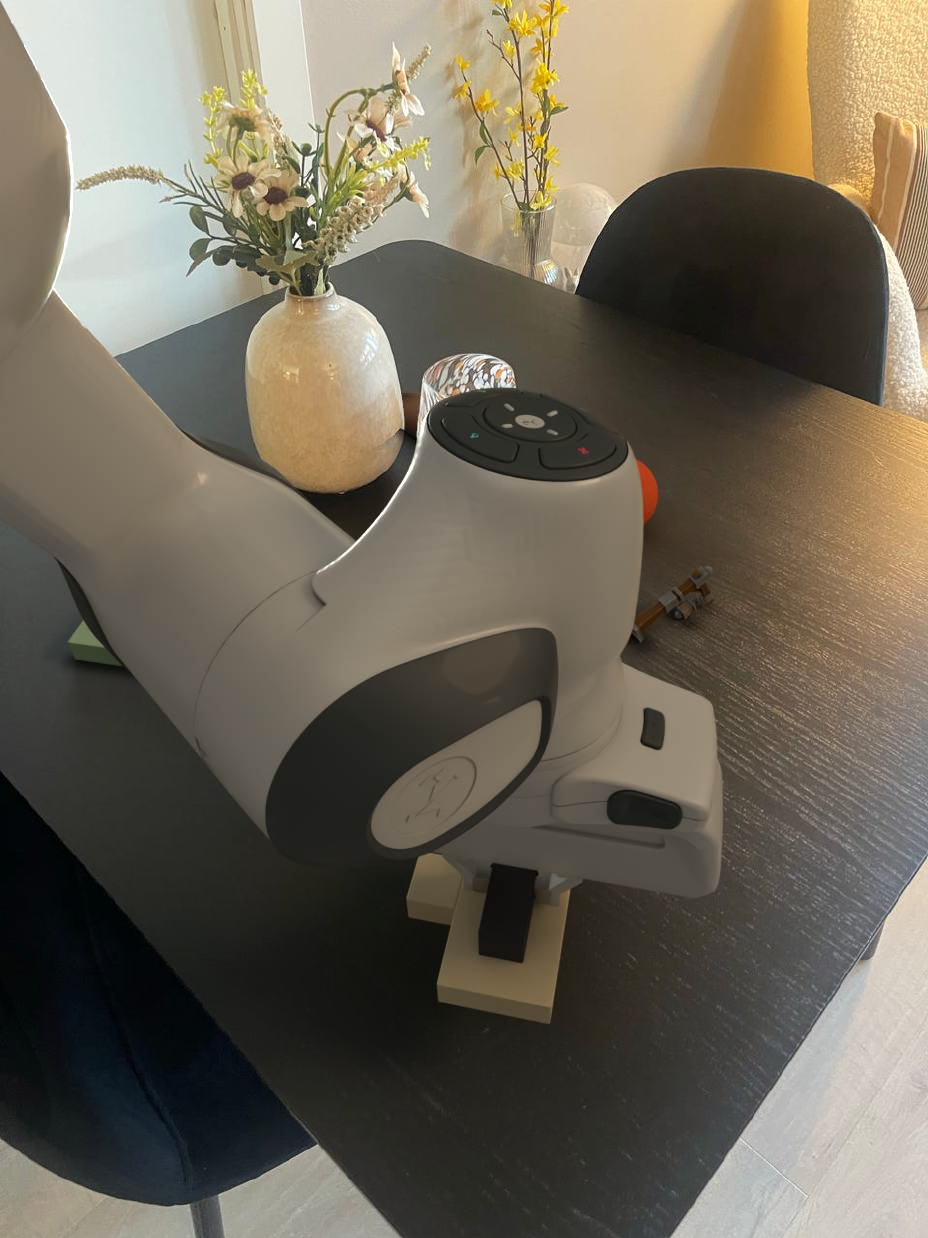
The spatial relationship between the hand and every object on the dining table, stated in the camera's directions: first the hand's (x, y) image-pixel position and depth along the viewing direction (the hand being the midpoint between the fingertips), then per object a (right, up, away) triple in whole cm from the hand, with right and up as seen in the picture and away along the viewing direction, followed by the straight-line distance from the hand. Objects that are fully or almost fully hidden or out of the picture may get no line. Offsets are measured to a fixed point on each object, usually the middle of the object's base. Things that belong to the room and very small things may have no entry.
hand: (514, 887), depth 53 cm
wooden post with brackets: (+14, +15, +25) cm, 32 cm away
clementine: (+11, +23, +34) cm, 42 cm away
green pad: (-27, +15, +27) cm, 41 cm away
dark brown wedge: (-2, +32, +44) cm, 55 cm away
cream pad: (-1, -2, +2) cm, 3 cm away
